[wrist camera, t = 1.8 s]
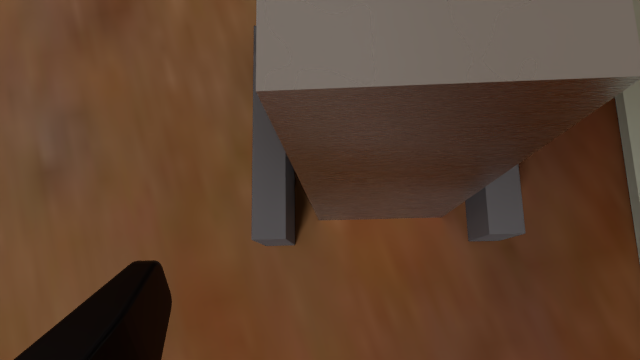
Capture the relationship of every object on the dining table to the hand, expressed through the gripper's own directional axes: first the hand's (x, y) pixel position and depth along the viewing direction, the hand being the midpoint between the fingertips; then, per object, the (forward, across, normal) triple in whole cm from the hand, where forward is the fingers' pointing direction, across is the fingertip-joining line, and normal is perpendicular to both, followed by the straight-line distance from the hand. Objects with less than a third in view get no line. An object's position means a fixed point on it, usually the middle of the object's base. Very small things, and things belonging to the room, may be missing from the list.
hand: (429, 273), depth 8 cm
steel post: (+12, 0, +5) cm, 13 cm away
